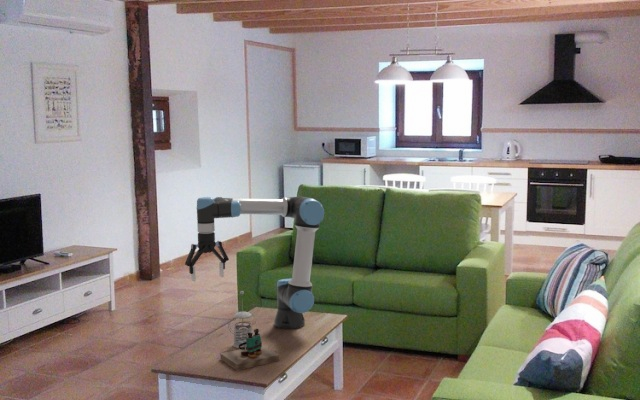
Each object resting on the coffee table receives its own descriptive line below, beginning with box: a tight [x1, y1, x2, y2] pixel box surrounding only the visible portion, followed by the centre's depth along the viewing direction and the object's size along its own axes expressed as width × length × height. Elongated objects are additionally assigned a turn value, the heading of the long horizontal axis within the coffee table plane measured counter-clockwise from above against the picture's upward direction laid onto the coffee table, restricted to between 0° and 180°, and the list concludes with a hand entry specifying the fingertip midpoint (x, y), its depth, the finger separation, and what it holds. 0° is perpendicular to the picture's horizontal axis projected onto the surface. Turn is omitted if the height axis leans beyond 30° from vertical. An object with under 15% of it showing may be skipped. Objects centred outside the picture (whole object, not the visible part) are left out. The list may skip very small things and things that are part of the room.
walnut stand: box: [219, 344, 281, 371], centre depth 292 cm, size 20×16×2 cm
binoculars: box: [238, 328, 263, 357], centre depth 292 cm, size 9×11×10 cm
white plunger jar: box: [227, 290, 253, 349], centre depth 311 cm, size 10×12×25 cm
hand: (207, 278), depth 309 cm, fingers open, 13 cm apart
